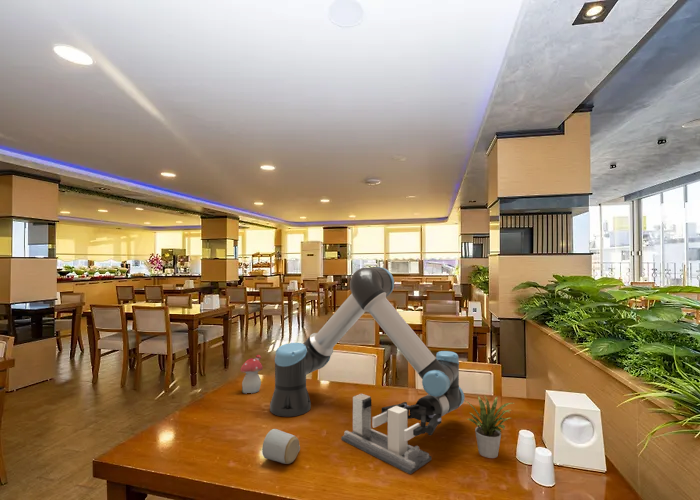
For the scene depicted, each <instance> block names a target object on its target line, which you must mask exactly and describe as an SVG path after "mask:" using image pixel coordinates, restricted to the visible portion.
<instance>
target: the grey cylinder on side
mask: <svg viewBox="0 0 700 500" xmlns="http://www.w3.org/2000/svg"><path fill="white" fill-rule="evenodd" d="M300 450H301V446H300V439H299V438H298V437H297V436H296V435H293V434H291V433H288V432H285V431H283V430H280V429H277V428H273V429H271V430H269V431H268V433H267V434H266V435H265V437H264V440H263V442H262V450H261V452H262V455H263V456H262V457H264V458H265V459H267V460H271V461H274V462H277V463H281V464H285V465H290V464H291V463H293V462H294V461H295V460H296V458H297V457H298V454H299V453H300Z"/></svg>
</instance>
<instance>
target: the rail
mask: <svg viewBox="0 0 700 500" xmlns="http://www.w3.org/2000/svg"><path fill="white" fill-rule="evenodd" d="M341 441H342V442H344V443H346V444H348V445H351V446H353V447H355V448H357V449H358V450H361V451H363V452H365V453H367V454H368V455H371V456H373V457H374V458H377V459H379V460H381V462H382V461H383V462H385V463H386V464H388V465H391V466H393V467H395V468H396V469H399V470H400V471H403V472H404V473H406V474H408V475H411V474H413V473H414V472H416V471H417V470H419V469H420V468H421V467H422V468H423V466H425V465H426V464H428V463H429V462H430V461H432V455H430V453H429V452H427V451H424V450H422V449H420V446H418V445H414V446H413V445H410V444H408V443H407V447H408V451H406V452H405V454H404V455H402V456H400V455H398V454H396V453H394V452H392V451H390V450H388V434H385V433H383V432H381V431H377V430H375V429H373V428H372V396H370V395H367V394H363V393H359V394H357V395H354V396H352V431H349V430H345V431H344V433H343V435H342V436H341Z"/></svg>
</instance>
